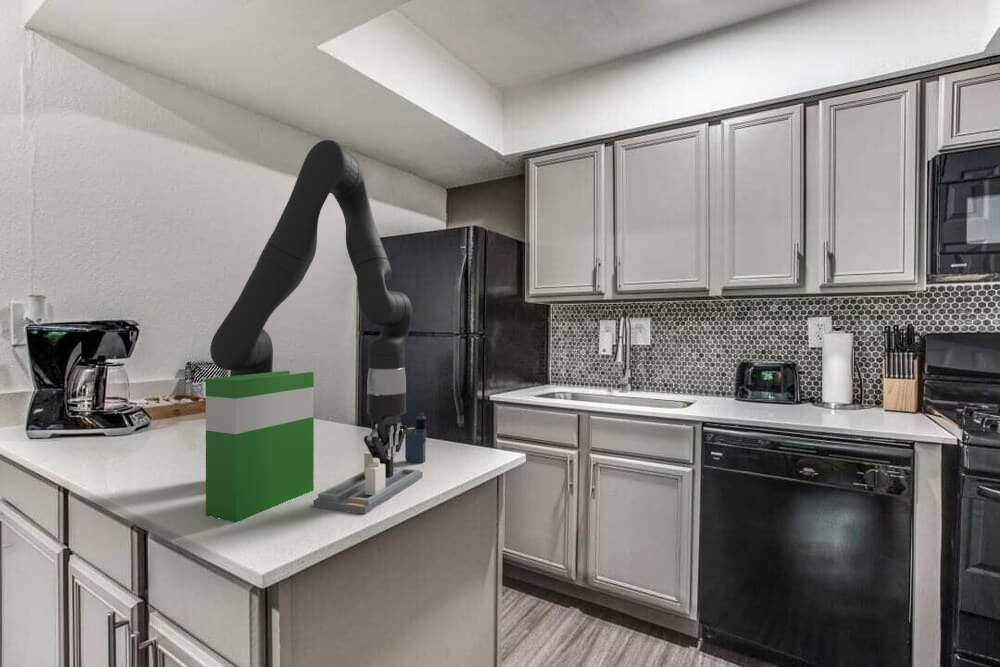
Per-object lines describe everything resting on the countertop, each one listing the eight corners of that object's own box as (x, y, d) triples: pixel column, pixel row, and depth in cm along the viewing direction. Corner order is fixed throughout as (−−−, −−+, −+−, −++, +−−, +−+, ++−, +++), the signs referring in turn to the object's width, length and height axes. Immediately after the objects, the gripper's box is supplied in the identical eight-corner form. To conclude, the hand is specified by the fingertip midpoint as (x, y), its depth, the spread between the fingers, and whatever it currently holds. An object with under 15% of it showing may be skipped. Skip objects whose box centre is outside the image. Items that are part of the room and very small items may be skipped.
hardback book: (286, 485, 101) (286, 370, 101) (313, 490, 98) (313, 372, 98) (205, 515, 85) (205, 378, 84) (235, 522, 82) (235, 380, 82)
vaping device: (424, 463, 118) (424, 414, 118) (403, 462, 119) (403, 413, 119) (427, 460, 120) (427, 412, 120) (407, 459, 121) (407, 411, 121)
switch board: (313, 506, 89) (313, 495, 89) (378, 472, 110) (378, 464, 110) (365, 514, 86) (365, 502, 86) (422, 477, 107) (422, 468, 107)
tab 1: (364, 476, 103) (364, 450, 102) (373, 471, 106) (373, 446, 106) (373, 477, 102) (373, 450, 102) (382, 472, 105) (382, 447, 105)
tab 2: (365, 494, 92) (365, 464, 92) (375, 488, 95) (375, 460, 95) (375, 495, 91) (375, 465, 91) (385, 489, 94) (385, 461, 94)
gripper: (387, 385, 104) (387, 466, 104) (350, 393, 92) (350, 485, 92) (419, 387, 102) (418, 469, 102) (385, 395, 89) (385, 489, 90)
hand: (386, 476), depth 97 cm, fingers closed
